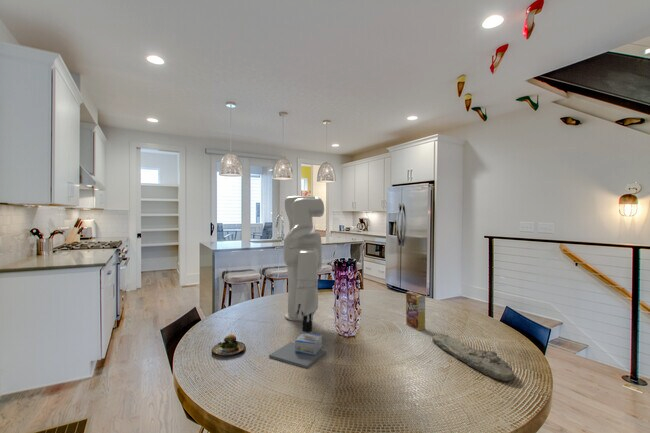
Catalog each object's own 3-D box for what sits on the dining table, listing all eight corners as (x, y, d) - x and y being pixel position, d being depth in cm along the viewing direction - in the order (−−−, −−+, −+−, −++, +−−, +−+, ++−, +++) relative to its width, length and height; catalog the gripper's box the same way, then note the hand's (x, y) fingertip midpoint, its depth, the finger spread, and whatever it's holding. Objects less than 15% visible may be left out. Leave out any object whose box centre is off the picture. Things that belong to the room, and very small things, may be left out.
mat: (290, 344, 123) (290, 342, 123) (326, 353, 115) (326, 351, 115) (269, 357, 111) (269, 355, 111) (307, 368, 103) (307, 365, 103)
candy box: (405, 324, 146) (405, 291, 146) (412, 323, 148) (412, 290, 148) (417, 330, 138) (418, 296, 138) (425, 329, 140) (425, 295, 140)
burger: (204, 356, 112) (205, 335, 112) (226, 343, 123) (226, 324, 123) (232, 361, 108) (233, 340, 108) (252, 348, 119) (252, 328, 119)
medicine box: (322, 334, 119) (315, 343, 111) (322, 346, 119) (315, 355, 111) (302, 332, 121) (294, 340, 113) (302, 343, 121) (294, 353, 113)
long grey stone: (445, 342, 130) (425, 346, 127) (444, 329, 130) (425, 333, 127) (524, 379, 97) (500, 386, 94) (522, 362, 97) (498, 368, 94)
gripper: (309, 278, 126) (309, 323, 127) (287, 285, 113) (287, 336, 114) (325, 280, 123) (325, 327, 123) (305, 288, 110) (304, 340, 110)
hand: (307, 331), depth 118 cm, fingers closed
